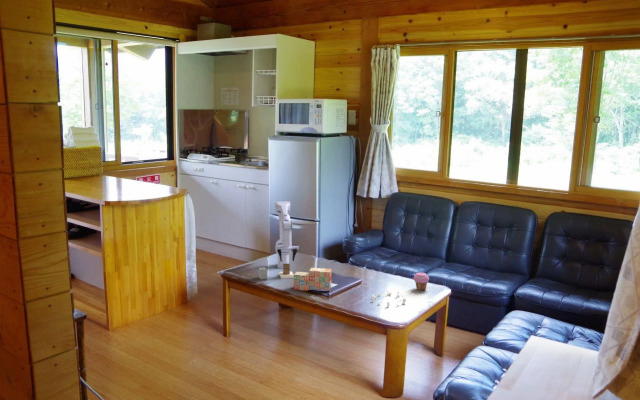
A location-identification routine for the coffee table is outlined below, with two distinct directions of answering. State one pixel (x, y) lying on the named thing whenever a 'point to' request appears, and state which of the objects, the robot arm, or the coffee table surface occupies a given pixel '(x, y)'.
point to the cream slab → (286, 275)
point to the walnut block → (286, 268)
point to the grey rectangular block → (262, 273)
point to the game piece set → (388, 295)
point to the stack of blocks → (313, 279)
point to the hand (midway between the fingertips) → (287, 260)
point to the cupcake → (421, 281)
